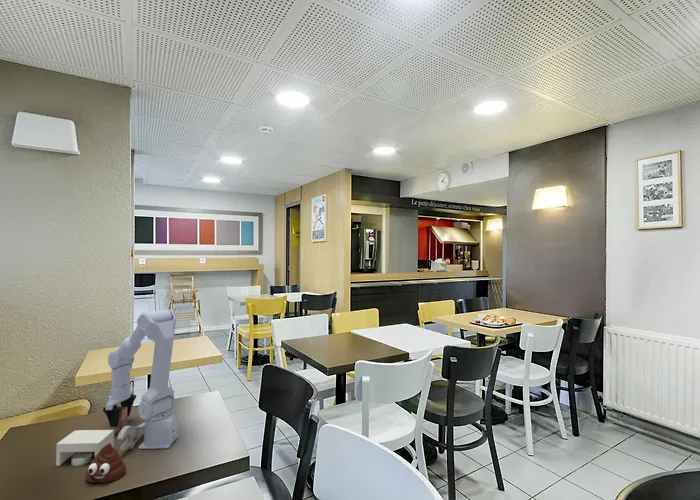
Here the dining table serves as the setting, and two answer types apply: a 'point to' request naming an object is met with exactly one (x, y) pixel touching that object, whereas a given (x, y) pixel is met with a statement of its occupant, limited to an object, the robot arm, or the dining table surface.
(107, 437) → the white step stool
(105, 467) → the poop emoji
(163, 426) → the robot arm
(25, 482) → the dining table surface
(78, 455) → the steel token
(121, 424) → the push blade
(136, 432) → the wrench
